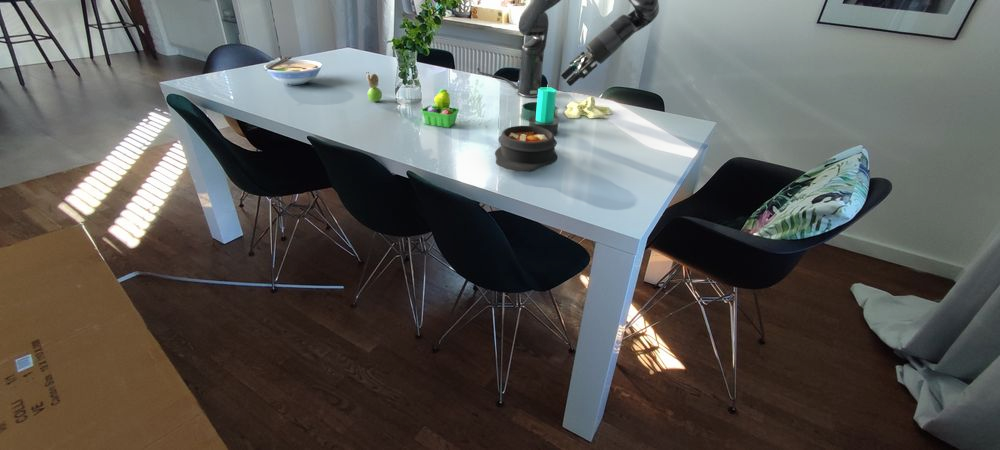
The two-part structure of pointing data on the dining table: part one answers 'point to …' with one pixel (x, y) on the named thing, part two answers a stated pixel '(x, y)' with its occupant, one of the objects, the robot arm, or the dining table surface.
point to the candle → (545, 104)
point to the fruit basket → (440, 111)
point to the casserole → (526, 148)
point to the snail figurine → (373, 88)
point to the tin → (533, 110)
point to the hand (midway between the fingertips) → (565, 80)
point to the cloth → (586, 109)
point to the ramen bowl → (293, 70)
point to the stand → (545, 124)
